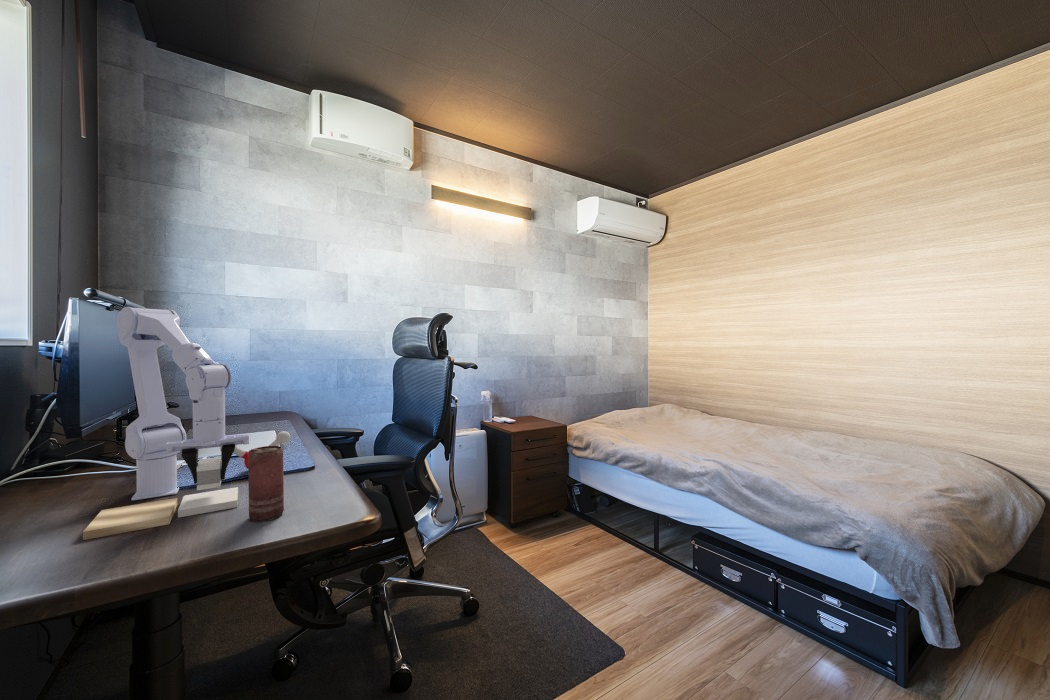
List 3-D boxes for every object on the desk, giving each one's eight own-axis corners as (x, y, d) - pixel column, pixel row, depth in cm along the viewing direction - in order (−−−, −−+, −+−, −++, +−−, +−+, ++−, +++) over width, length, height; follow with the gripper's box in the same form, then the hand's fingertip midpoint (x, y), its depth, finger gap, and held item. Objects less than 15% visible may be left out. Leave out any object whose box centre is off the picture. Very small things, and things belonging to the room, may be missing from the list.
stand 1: (102, 517, 86) (101, 509, 86) (177, 504, 92) (177, 497, 92) (82, 540, 76) (82, 531, 76) (169, 524, 82) (169, 516, 82)
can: (250, 513, 88) (250, 446, 87) (285, 508, 90) (284, 443, 90) (244, 524, 82) (243, 453, 82) (281, 519, 85) (280, 450, 84)
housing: (200, 481, 94) (199, 459, 94) (221, 478, 96) (221, 456, 96) (196, 490, 88) (196, 467, 88) (220, 486, 90) (220, 464, 90)
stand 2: (184, 502, 94) (183, 495, 94) (238, 493, 99) (238, 487, 99) (177, 517, 85) (177, 510, 85) (237, 507, 91) (237, 500, 91)
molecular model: (224, 480, 108) (223, 442, 108) (215, 476, 112) (215, 439, 111) (293, 464, 123) (293, 430, 123) (284, 461, 126) (284, 428, 126)
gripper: (162, 425, 85) (163, 492, 85) (248, 418, 93) (249, 479, 93) (168, 420, 90) (169, 482, 91) (248, 414, 98) (249, 471, 99)
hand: (209, 480), depth 92 cm, fingers closed on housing, 4 cm apart
